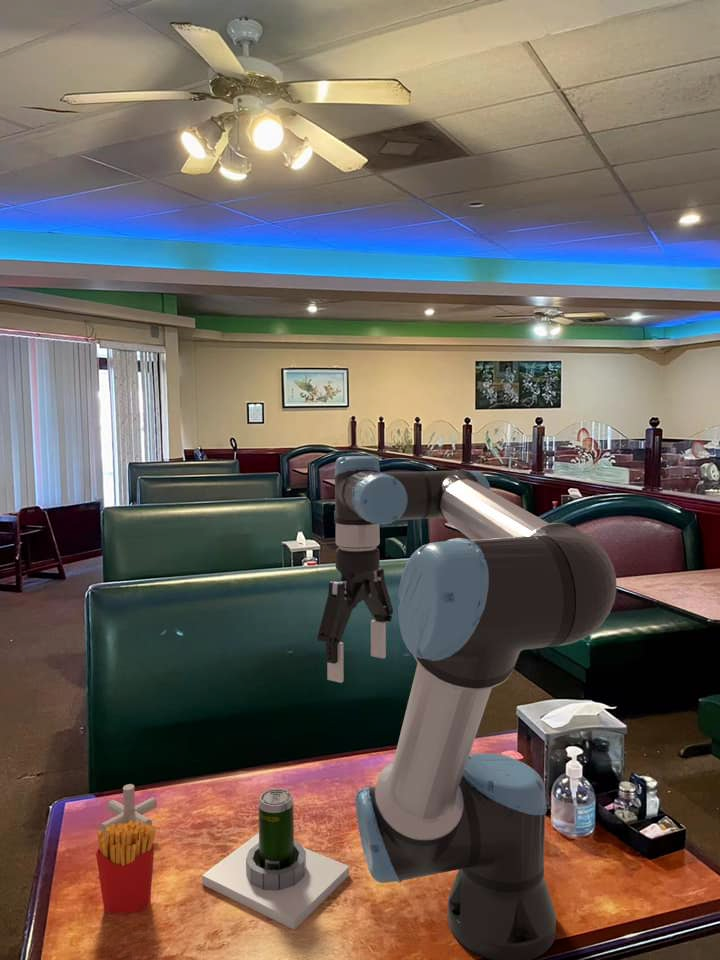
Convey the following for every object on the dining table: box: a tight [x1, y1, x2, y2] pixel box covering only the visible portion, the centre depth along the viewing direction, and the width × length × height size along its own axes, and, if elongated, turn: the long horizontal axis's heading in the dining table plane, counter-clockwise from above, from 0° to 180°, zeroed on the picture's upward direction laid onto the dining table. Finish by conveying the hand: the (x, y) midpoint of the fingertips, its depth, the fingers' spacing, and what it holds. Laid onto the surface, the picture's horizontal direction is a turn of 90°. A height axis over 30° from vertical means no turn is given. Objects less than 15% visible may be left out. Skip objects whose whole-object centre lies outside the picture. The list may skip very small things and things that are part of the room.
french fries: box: [95, 820, 157, 914], centre depth 104 cm, size 8×4×12 cm, turn 93°
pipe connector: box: [99, 783, 158, 836], centre depth 119 cm, size 10×10×10 cm
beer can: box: [258, 788, 295, 870], centre depth 109 cm, size 5×5×12 cm
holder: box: [201, 832, 350, 931], centre depth 109 cm, size 18×14×4 cm
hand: (357, 668), depth 121 cm, fingers open, 13 cm apart
